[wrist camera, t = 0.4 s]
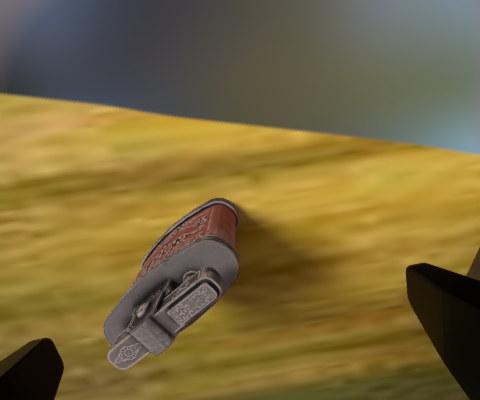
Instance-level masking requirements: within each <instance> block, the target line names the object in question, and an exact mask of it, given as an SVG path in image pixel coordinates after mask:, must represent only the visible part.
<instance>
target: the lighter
mask: <svg viewBox="0 0 480 400" xmlns="http://www.w3.org/2000/svg"><path fill="white" fill-rule="evenodd" d="M238 226H239V214H238V211H237V209H236V207H235V206H234V204H232V203H231V202H230V201H229V200H226V199H224V198H214V199H211V200H209V201H208V202H206V203H204V204H202V205H200V206H199V207H197V208H195V209H193V210H192V211H190V212H189V213H188V214H186V215H185V216H184V217H182V218H181V219H179V220H178V221H177V222H175V223H174V224H173V225H172V226H171V227H170V228H169V229H168V230H167V231H166V232H165V233H164V234H163V235H162V236H161V237H160V238H159V239H158V240H157V242H156V243H155V244H154V246H153V247H152V248H151V249H150V251H149V252H148V253H147V255H146V256H145V258H144V260H143V262H142V264H141V270H140V272H139V273H138V275H137V277H136V279H135V280H134V282H133V284H132V285H131V287H130V288H129V289H128V291H127V292H126V293H125V294H124V296H123V297H122V298H121V299H120V301H119V302H118V303H117V305H116V306H115V307H114V308H113V310H112V311H111V313H110V314H109V316H108V318H107V319H106V321H105V324H104V334H105V337H106V339H107V341H108V342H109V343H110V344H111V345H112V347H111V349H110V351H109V352H108V355H107V357H108V360H109V361H110V362H111V363H112V364H113V365H114V366H115V367H117V368H119V369H122V370H125V369H128V368H130V367H131V366H133V365H134V364H135V363H137V362H138V361H139V360H140V359H142V358H143V357H144V356H146V355H147V354H148V353H149V352H151V353H152V354H154V355H155V356H158V355H160V354H161V353H162V352H164V351H165V350H166V349H167V348H168V347H169V346H170V345H171V344H172V342H173V341H174V339H175V338H176V336H177V335H178V334H179V333H180V332H181V331H182V330H184V329H185V328H187V327H188V326H190V325H191V324H193V323H194V322H195V321H196V320H197V319H198V318H200V317H201V316H202V315H203V314H204V313H205V312H206V311H207V310H208V309H210V308H211V307H212V306H213V305H214V304H215V303H216V302H217V301H218V300H219V299H220V297H221V296H222V295H223V294H224V293H225V292H226V291H227V289H228V288H229V287H230V286H231V285H232V284H233V283H234V281H235V280H236V278H237V276H238V272H239V258H238V255H237V251H236V250H235V248H236V230H237V228H238Z"/></svg>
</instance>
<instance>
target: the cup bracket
mask: <svg viewBox="0 0 480 400" xmlns="http://www.w3.org/2000/svg"><path fill="white" fill-rule="evenodd" d="M467 277H470V278H473V279H476V280H479V281H480V248H479V251H478V253H477V255H476V257H475V259H474V261H473V264H472V266H471V268H470V270H469V272H468V274H467Z"/></svg>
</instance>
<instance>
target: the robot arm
mask: <svg viewBox="0 0 480 400" xmlns="http://www.w3.org/2000/svg"><path fill="white" fill-rule="evenodd" d="M406 282H407V295H408V299H409V302H410V305H411V307H412V308H413V310H414V312H415V314H416V315H417V317H418V319H419V321H420V322H421V324H422V326H423V327H424V329H425V331H426V333H427V334H428V336H429V338H430V340H431V341H432V343H433V345H434V347H435V348H436V350H437V352H438V354H439V355H440V357H441V359H442V360H443V362H444V364H445V365H446V366H447V368H448V369H449V371H450V372H451V374H452V375H453V377H454V378H455V379H456V381H457V382H458V383H459V385H460V386H461V388H462V389H463V390H464V392H465V393H466V395H467V396H468V397H469V399H470V400H480V281H479V280H476V279H473V278H470V277H467V276H464V275H461V274H458V273H455V272H452V271H449V270H446V269H443V268H440V267H437V266H434V265H430V264H427V263H419V264H414V265H409V266H408V267H407V268H406ZM63 369H64V365H63V361H62V359H61V357H60V355H59V353H58V351H57V349H56V347H55V345H54V343H53V341H52V340H51V339H49V338H42V339H37V340H33V341H31V342H29V343H27V344H26V345H24V346H23V347H21V348H20V349H18V350H17V351H15V352H14V353H12V354H11V355H9V356H8V357H6V358H5V359H3V360H2V361H0V400H54V399H55V396H56V393H57V390H58V386H59V383H60V380H61V377H62V374H63Z"/></svg>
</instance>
